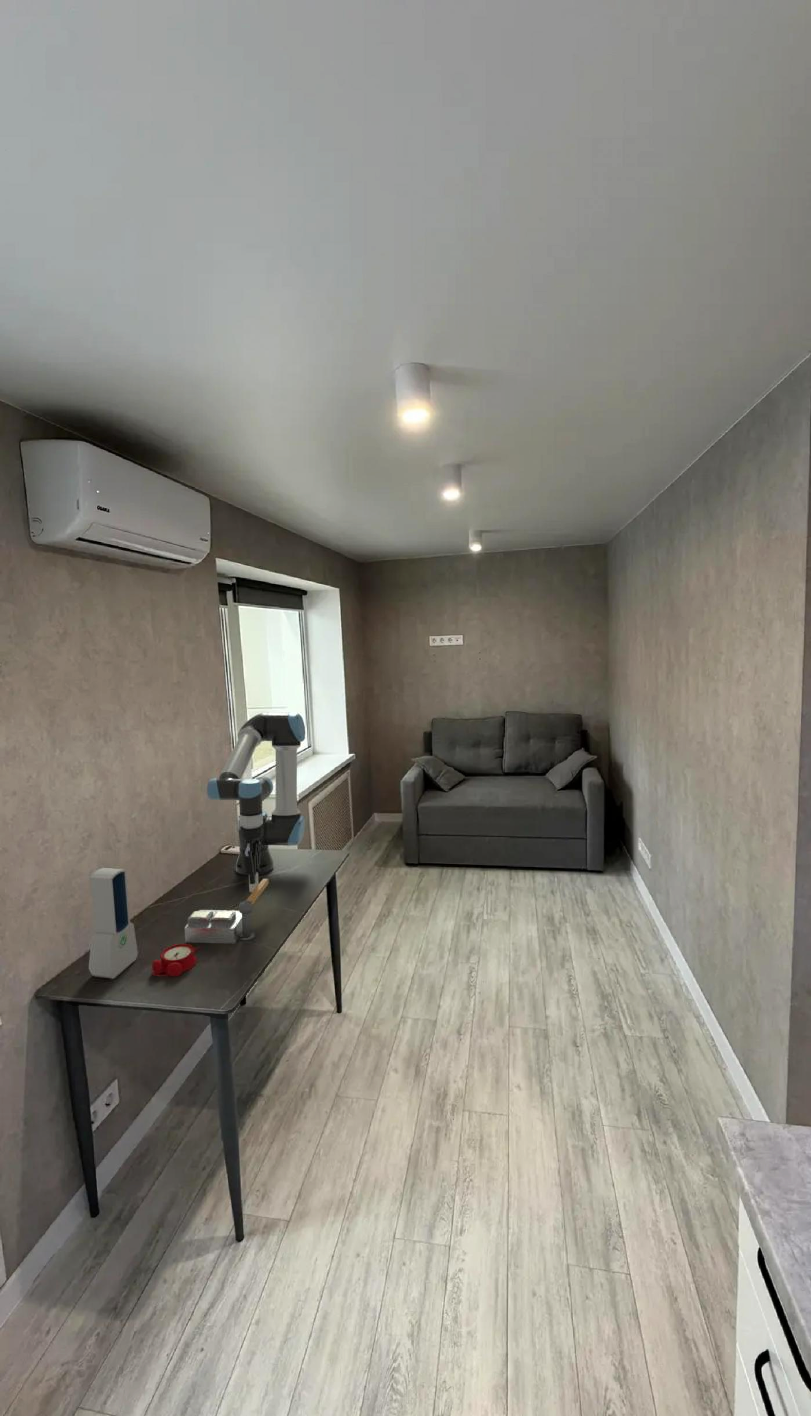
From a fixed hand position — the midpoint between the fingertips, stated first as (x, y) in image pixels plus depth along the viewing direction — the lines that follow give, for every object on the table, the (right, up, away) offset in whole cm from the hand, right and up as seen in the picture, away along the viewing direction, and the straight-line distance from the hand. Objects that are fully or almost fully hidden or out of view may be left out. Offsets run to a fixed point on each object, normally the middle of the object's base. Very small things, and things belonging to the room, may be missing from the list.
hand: (254, 891), depth 209 cm
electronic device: (-34, -14, -30) cm, 47 cm away
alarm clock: (-16, -14, -31) cm, 37 cm away
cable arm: (+2, -9, -5) cm, 10 cm away
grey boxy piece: (-7, -10, -11) cm, 17 cm away
